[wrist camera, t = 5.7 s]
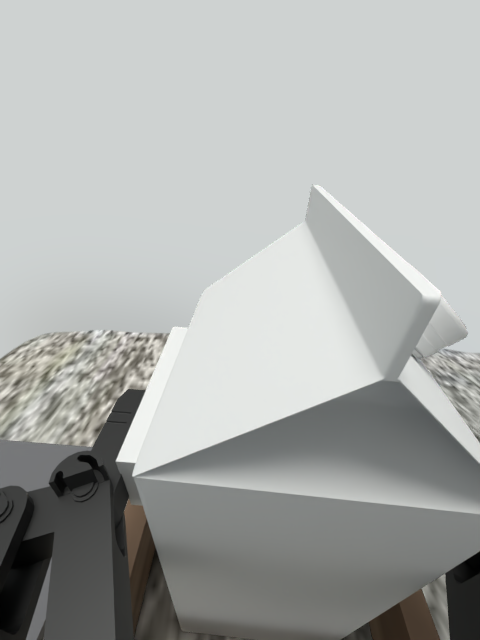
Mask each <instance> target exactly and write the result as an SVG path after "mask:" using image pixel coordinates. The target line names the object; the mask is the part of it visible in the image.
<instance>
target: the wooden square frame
mask: <svg viewBox="0 0 480 640" xmlns="http://www.w3.org/2000/svg"><path fill="white" fill-rule="evenodd" d="M124 515H125V523H126V537H127V551H128V565H129V579H130V592H131V606H132V620H133V634H135V630H136V626H137V622H138V618H139V614H140V609H141V605H142V601H143V597H144V593H145V589H146V585H147V581H148V576H149V572H150V568H151V564H152V560H153V556H154V552H155V544H154V540H153V537H152V534H151V531H150V528H149V524H148V521H147V518H146V515H145V512H144V508H143V506H142V505H131V503H130V500H128V502H127V505H126V508H125V511H124ZM369 625H370V630H371V634H372V638H373V640H440V638H439V635H438V633H437V630H436V627H435V625H434V622H433V619H432V616H431V614H430V611H429V608H428V605H427V603H426V600H425V597H424V595H423V592H422V589H420V590H418V591H416V592H415V593H413V594H412V595H410V596H409V597H407V598H405V599H404V600H402V601H401V602H399V603H398V604H396V605H394V606H393V607H391V608H390V609H388V610H386V611H385V612H383V613H382V614H380V615H379V616H377V617H375V618H374V619H372V620H371V621H369Z"/></svg>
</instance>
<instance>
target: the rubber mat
mask: <svg viewBox="0 0 480 640" xmlns="http://www.w3.org/2000/svg"><path fill="white" fill-rule="evenodd" d="M92 448H93V447H85V446H72V445H59V444H46V443H33V442H21V441H8V440H0V488H3V487H7V486H20V487H21V488H23V489H24V490H25V491H26V492H29V491H33V490H37V489H41V488H45V487H49V486H50V485H49V480H50V477H51V474H52V472H53V471H54V470H55V468H56V467H57V466H58V464H59V463H60V462H62V461H63V460H64V459H65V458H67V457H68V456H70V455H72V454H74V453H77V452H81V451H87V450H88V451H91V450H92ZM51 562H52V558H51V561H50V564H49V567H48V570H47V574H46V577H45V580H44V583H43V586H42V590H41V593H40V596H39V599H38V602H37V606H36V609H35V612H34V615H33V618H32V622H31V625H30V628H29V631H28V634H27V638H26V640H42V639H43V636H44V631H45V621H46V611H47V601H48V592H49V582H50V572H51Z"/></svg>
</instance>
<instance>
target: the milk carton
mask: <svg viewBox="0 0 480 640" xmlns="http://www.w3.org/2000/svg"><path fill="white" fill-rule="evenodd" d="M467 335H468V332H467V330H466V326H465V325H464V323H463V322H462V320H461V319H460V317H459V316H458V315H457V313H456V312H455V311H454V310H453V308H452V307H451V306H450V305H449V303H447V301H446V300H445V299H444V297H443V296H442V295H441V291H439V290H438V289H437V288H436V287H435V286H434V285H433V284H431V283H430V282H429V281H428V280H427V279H426V278H425V277H424V276H423V275H422V274H421V273H420V272H419V271H418V270H416V269H415V268H414V267H413V266H412V265H410V264H409V263H407V262H406V261H405V260H404V259H403V258H402V257H401V256H400V255H398V254H397V253H396V252H395V251H393V249H392V248H390V247H389V246H388V245H387V244H386V243H385V242H384V241H382V240H381V239H380V238H379V237H378V236H377V235H376V234H374V233H373V232H372V231H371V230H370V229H369V228H367V227H366V226H365V225H364V224H363V223H362V222H361V221H359V220H358V219H357V218H356V217H355V216H354V215H353V214H352V213H351V212H349V211H348V210H347V209H346V208H345V207H344V206H342V205H341V204H340V203H339V202H338V201H337V200H336V199H335V198H333V197H332V196H331V195H330V194H329V193H328V192H326V191H325V190H324V189H323V188H322V187H321V186H320V185H312V187H311V193H310V198H309V203H308V208H307V214H306V219H305V221H304V222H302V223H301V224H299V225H298V226H296V227H295V228H293V229H292V230H291V231H289V232H288V233H286V234H285V235H284V236H282V237H280V238H279V239H278V240H276V241H275V242H273V243H272V244H270V245H269V246H267V247H266V248H264V249H263V250H262V251H260V252H259V253H257V254H256V255H254V256H253V257H251V258H250V259H249V260H247V261H246V262H244V263H243V264H241V265H240V266H238V267H237V268H235V269H234V270H233V271H231V272H230V273H228V274H227V275H225V276H224V277H222V278H221V279H219V280H218V281H217V282H215V283H214V284H212V285H211V286H209V287H208V288H206V289H205V290H204V291H203V293H202V295H201V297H200V300H199V302H198V305H197V307H196V310H195V312H194V315H193V317H192V320H191V322H190V325H189V327H188V330H187V333H186V335H185V338H184V340H183V343H182V345H181V348H180V350H179V353H178V355H177V358H176V361H175V363H174V366H173V368H172V371H171V373H170V376H169V378H168V381H167V383H166V386H165V389H164V391H163V394H162V396H161V399H160V401H159V404H158V406H157V409H156V411H155V414H154V417H153V419H152V422H151V424H150V427H149V429H148V432H147V435H146V437H145V440H144V442H143V445H142V448H141V450H140V453H139V456H138V458H137V461H136V464H135V467H134V470H133V474H132V477H134V479H135V483H136V486H137V489H138V492H139V495H140V499H141V502H142V505H143V508H144V512H145V515H146V518H147V521H148V524H149V528H150V531H151V534H152V537H153V540H154V544H155V547H156V550H157V553H158V557H159V560H160V563H161V566H162V569H163V573H164V576H165V579H166V582H167V586H168V589H169V592H170V595H171V598H172V602H173V605H174V608H175V611H176V614H177V618H178V621H179V624H180V627H181V630H182V631H186V632H194V633H202V634H211V635H219V636H227V637H236V638H244V639H252V640H341V639H342V638H344V637H346V636H347V635H349V634H350V633H352V632H353V631H355V630H357V629H358V628H360V627H361V626H363V625H364V624H366V623H368V622H369V621H371V620H372V619H374V618H375V617H377V616H379V615H380V614H382V613H383V612H385V611H386V610H388V609H390V608H391V607H393V606H394V605H396V604H398V603H399V602H401V601H402V600H404V599H405V598H407V597H409V596H410V595H412V594H413V593H415V592H416V591H418V590H420V589H421V588H423V587H424V586H426V585H427V584H429V583H431V582H432V581H434V580H435V579H437V578H438V577H440V576H442V575H443V574H445V573H446V572H448V571H450V570H451V569H453V568H454V567H456V566H457V565H459V564H461V563H462V562H464V561H465V560H467V559H468V558H470V557H472V556H473V555H475V554H476V553H478V552H479V551H480V443H479V442H478V440H477V439H476V437H475V436H474V434H473V433H472V432H471V430H470V429H469V427H468V426H467V424H466V423H465V422H464V420H463V419H462V417H461V416H460V415H459V413H458V412H457V410H456V409H455V407H454V406H453V405H452V403H451V402H450V400H449V399H448V398H447V396H446V395H445V393H444V392H443V391H442V389H441V388H440V386H439V385H438V384H437V382H436V381H435V379H434V378H433V376H432V375H431V374H430V372H429V371H428V369H427V368H426V366H425V365H424V364H423V362H422V361H421V358H423V355H424V356H425V357H429V356H431V355H433V354H435V353H437V351H439V350H441V349H442V348H444V347H446V346H450V345H452V344H454V343H456V342H458V341H460V340H462V339H464V338H466V336H467Z"/></svg>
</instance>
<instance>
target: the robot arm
mask: <svg viewBox="0 0 480 640" xmlns="http://www.w3.org/2000/svg"><path fill="white" fill-rule="evenodd" d="M187 330H188V328H185V327H173V328H172V331H171V333H170V335H169V338H168V340H167V342H166V345H165V347H164V349H163V352H162V354H161V356H160V359H159V361H158V363H157V366H156V368H155V370H154V373H153V375H152V377H151V380H150V382H149V384H148V387H147V389H146V390H133V389H128V390H127V391H126V392H125V393H124V394H123V395H122V396H121V397H119V398H118V400H117V402H116V404H115V405H114V407H113V409H112V413H110V415H109V417H108V419H107V422H106V423H105V425H104V427H103V429H102V430H101V432H100V434H99V436H98V438H97V440H96V442H95V444H94V446H93V448H92V450H91V451H88V450H87V451H81V452H77V453H74V454H72V455H70V456H68V457H67V458H65V459H64V460H63V461H62V462H60V463H59V464H58V466H57V467H56V468H55V470H54V471H53V472H52V474H51V477H50V480H49V485H50V486H49V487H45V488H41V489H37V490H33V491H29V492H26V491H25V490H24V489H23V488H21V487H20V486H7V487H3V488H0V640H26V638H27V634H28V631H29V628H30V625H31V622H32V618H33V615H34V612H35V609H36V606H37V602H38V599H39V596H40V593H41V590H42V586H43V583H44V580H45V577H46V574H47V570H48V567H49V564H50V561H51V558H52V562H51V572H50V582H49V592H48V601H47V611H46V621H45V631H44V640H134V634H133V620H132V606H131V592H130V579H129V565H128V551H127V537H126V523H125V515H124V510H125V507H126V504H127V501H128V498H129V500H130V503H131V505H142V502H141V499H140V495H139V492H138V489H137V486H136V483H135V479H134V477H132V474H133V470H134V467H135V464H136V461H137V458H138V456H139V453H140V450H141V448H142V445H143V442H144V440H145V437H146V435H147V432H148V429H149V427H150V424H151V422H152V419H153V417H154V414H155V411H156V409H157V406H158V404H159V401H160V399H161V396H162V394H163V391H164V389H165V386H166V383H167V381H168V378H169V376H170V373H171V371H172V368H173V366H174V363H175V361H176V358H177V355H178V353H179V350H180V348H181V345H182V343H183V340H184V338H185V335H186V333H187ZM142 506H143V505H142ZM445 575H446V589H447V602H448V616H449V630H450V640H480V551H479V552H478V553H476V554H475V555H473V556H472V557H470V558H468V559H467V560H465V561H464V562H462V563H461V564H459V565H457V566H456V567H454V568H453V569H451V570H450V571H448V572H446V573H445Z"/></svg>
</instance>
